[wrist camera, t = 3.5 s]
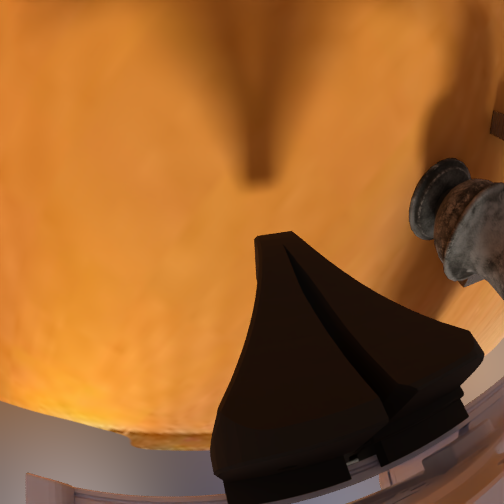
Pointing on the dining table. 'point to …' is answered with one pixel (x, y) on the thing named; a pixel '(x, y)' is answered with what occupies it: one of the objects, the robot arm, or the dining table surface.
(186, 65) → the dining table surface
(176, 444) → the dining table surface
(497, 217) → the weathered grey candle holder
